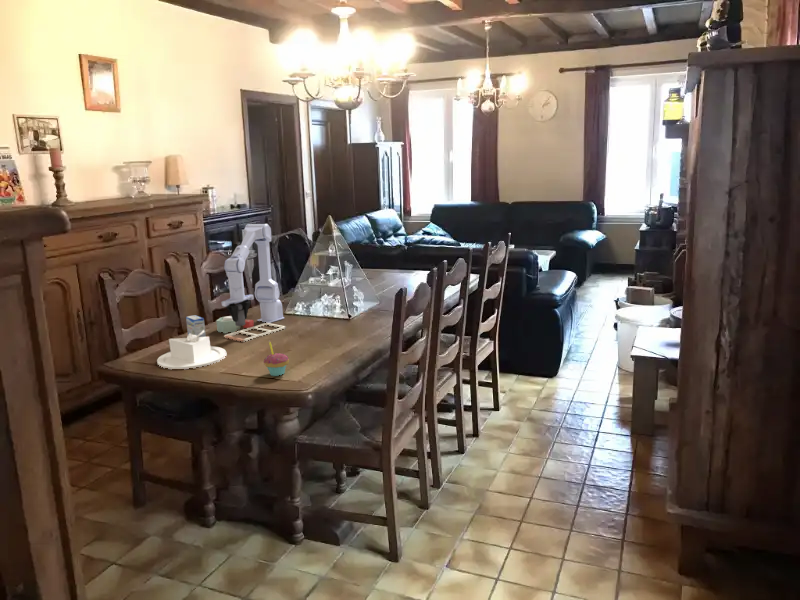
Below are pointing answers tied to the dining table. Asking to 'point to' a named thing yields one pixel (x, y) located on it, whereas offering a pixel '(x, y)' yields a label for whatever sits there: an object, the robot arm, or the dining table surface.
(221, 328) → the dome base
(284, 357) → the cupcake
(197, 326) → the medicine box
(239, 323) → the pawn
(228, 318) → the dome
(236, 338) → the game track
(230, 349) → the dining table surface
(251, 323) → the red die
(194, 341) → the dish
